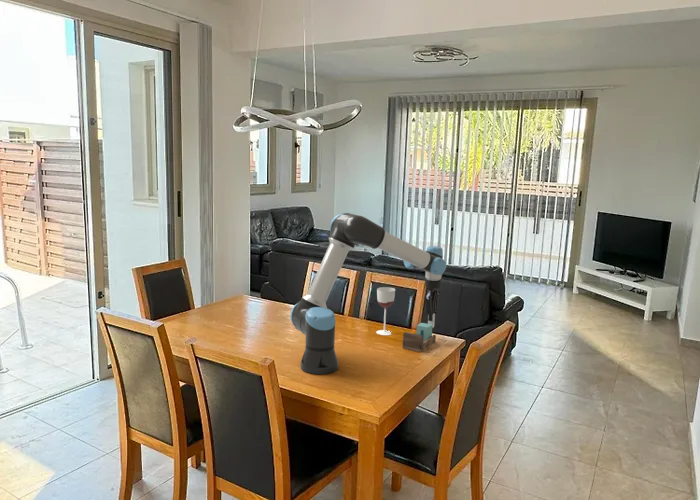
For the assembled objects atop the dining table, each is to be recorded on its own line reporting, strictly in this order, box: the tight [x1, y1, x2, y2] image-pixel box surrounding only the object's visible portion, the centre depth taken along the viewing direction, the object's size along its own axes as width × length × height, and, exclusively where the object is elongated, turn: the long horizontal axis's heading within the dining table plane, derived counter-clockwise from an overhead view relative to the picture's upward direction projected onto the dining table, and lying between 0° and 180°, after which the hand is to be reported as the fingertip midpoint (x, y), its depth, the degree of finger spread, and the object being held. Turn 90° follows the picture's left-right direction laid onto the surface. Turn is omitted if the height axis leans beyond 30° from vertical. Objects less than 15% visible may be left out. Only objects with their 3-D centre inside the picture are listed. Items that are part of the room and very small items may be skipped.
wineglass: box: [375, 286, 396, 336], centre depth 251 cm, size 9×10×22 cm
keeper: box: [416, 322, 433, 341], centre depth 239 cm, size 5×6×7 cm
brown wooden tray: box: [402, 331, 437, 353], centre depth 235 cm, size 17×9×7 cm, turn 148°
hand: (430, 326), depth 246 cm, fingers closed
